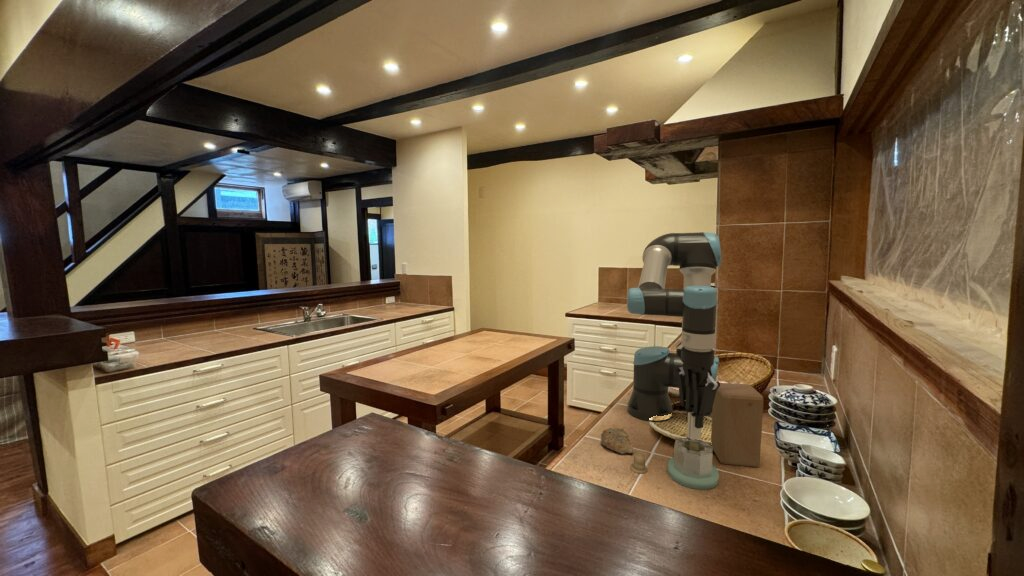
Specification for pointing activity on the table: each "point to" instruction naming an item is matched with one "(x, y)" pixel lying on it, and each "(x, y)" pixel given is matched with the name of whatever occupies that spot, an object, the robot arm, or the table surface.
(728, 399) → the wooden block
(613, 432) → the rock
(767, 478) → the table surface
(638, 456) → the stand
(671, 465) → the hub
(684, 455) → the collar ring
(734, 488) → the table surface
